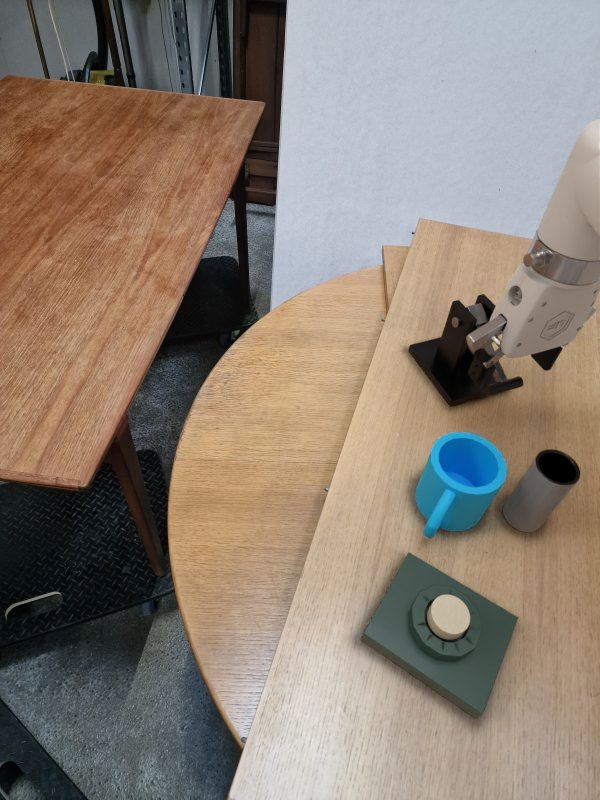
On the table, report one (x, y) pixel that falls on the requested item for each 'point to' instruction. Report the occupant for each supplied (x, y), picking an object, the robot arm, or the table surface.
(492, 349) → the press lever
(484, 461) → the mug
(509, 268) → the table surface
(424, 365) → the lever bracket
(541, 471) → the grey hollow cylinder
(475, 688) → the button housing
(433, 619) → the stop button
